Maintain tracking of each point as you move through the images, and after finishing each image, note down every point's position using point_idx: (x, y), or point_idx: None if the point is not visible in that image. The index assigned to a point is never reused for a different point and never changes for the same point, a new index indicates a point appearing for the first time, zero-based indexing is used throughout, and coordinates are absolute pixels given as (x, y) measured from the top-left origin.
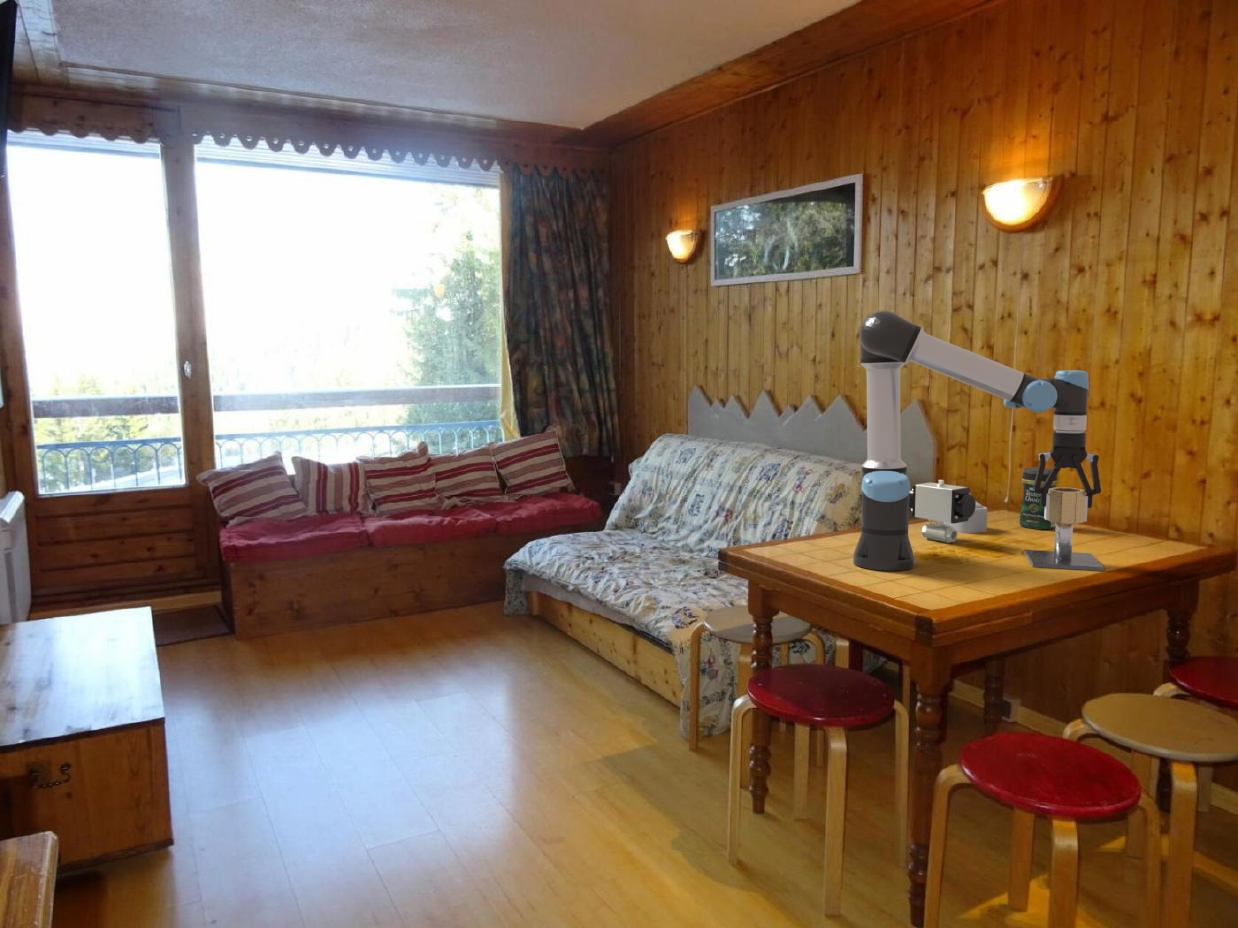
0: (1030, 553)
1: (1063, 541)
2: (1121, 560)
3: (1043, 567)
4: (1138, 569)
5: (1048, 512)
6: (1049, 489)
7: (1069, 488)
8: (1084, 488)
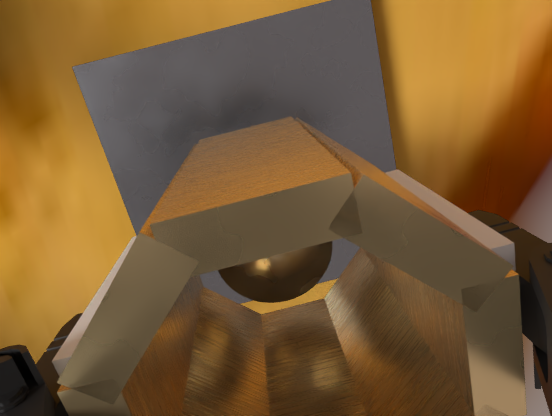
0: (118, 147)
1: None
2: (486, 6)
3: None
4: (525, 158)
5: None
6: None
7: (335, 235)
8: (547, 339)
